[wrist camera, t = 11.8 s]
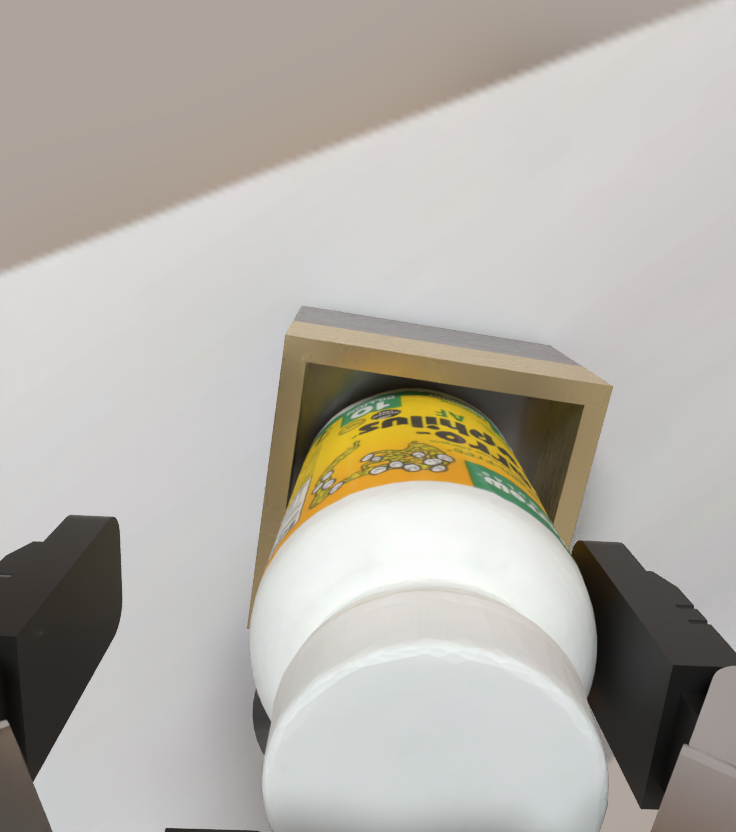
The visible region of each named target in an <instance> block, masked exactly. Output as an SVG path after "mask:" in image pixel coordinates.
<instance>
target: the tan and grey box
mask: <svg viewBox="0 0 736 832" xmlns="http://www.w3.org/2000/svg"><path fill="white" fill-rule="evenodd" d="M401 388H423V389H429V390H435V391H440V392H443V393H446V394H449V395H452V396H455V397H457V398H459V399H461V400H463V401H465V402H467V403H469V404H471V405H473V406H474V407H476V408H477V409H479V410H480V411H481V412H482V413H484V414H485V415H486V416H487V417H488V418H489V419H490V420H491V421H492V422H493V423H494V425H495V426H496V427H497V428H498V430H499V431H500V432H501V434H502V435H503V437H504V438H505V440H506V442H507V443H508V445H509V446H510V448H511V449H512V451H513V453H514V455H515V457H516V459H517V460H518V462H519V464H520V465H521V467H522V469H523V471H524V473H525V474H526V476H527V478H528V480H529V482H530V484H531V486H532V487H533V489H534V490H535V491H536V494H537V496H538V498H539V500H540V502H541V504H542V506H543V507H544V509H545V511H546V513H547V515H548V517H549V519H550V520H551V522H552V524H553V525H554V527H555V529H556V530H557V532H558V534H559V536H560V537H561V539H562V541H563V542H564V544H565V545H566V547H567V549H568V551H569V548H570V544H571V540H572V536H573V533H574V529H575V525H576V522H577V518H578V514H579V511H580V507H581V503H582V499H583V496H584V492H585V488H586V485H587V481H588V477H589V474H590V470H591V466H592V463H593V459H594V455H595V451H596V448H597V444H598V440H599V437H600V433H601V429H602V426H603V422H604V418H605V415H606V411H607V407H608V403H609V400H610V396H611V392H612V389H613V386H612V385H610V384H609V383H607V382H606V381H604V380H603V379H601V378H599V377H598V376H596V375H595V374H593V373H592V372H590V371H589V370H587V369H585V368H584V367H582V366H581V365H579V364H578V363H576V362H575V361H573V360H572V359H570V358H568V357H567V356H565V355H564V354H562V353H561V352H559V351H558V350H556V349H554V348H553V347H551V346H550V345H543V344H537V343H531V342H525V341H519V340H512V339H506V338H500V337H494V336H487V335H481V334H475V333H469V332H462V331H456V330H450V329H444V328H437V327H431V326H425V325H419V324H413V323H406V322H400V321H394V320H388V319H381V318H375V317H369V316H363V315H356V314H350V313H344V312H338V311H331V310H325V309H319V308H313V307H307V306H301V308H300V310H299V312H298V313H297V315H296V317H295V319H294V321H293V322H292V324H291V326H290V328H289V329H288V331H287V333H286V335H285V342H284V350H283V357H282V365H281V373H280V380H279V388H278V396H277V403H276V411H275V419H274V426H273V434H272V442H271V449H270V457H269V465H268V472H267V480H266V488H265V495H264V503H263V511H262V518H261V526H260V534H259V541H258V549H257V557H256V564H255V572H254V579H253V587H252V595H251V602H250V610H249V618H248V625H247V629H250V621H251V615H252V611H253V606H254V602H255V597H256V594H257V591H258V588H259V585H260V582H261V578H262V575H263V572H264V569H265V567H266V564H267V562H268V559H269V557H270V554H271V551H272V549H273V546H274V543H275V541H276V538H277V535H278V532H279V529H280V527H281V524H282V521H283V518H284V515H285V512H286V509H287V507H288V504H289V501H290V499H291V496H292V493H293V490H294V487H295V485H296V482H297V479H298V477H299V474H300V471H301V468H302V465H303V462H304V460H305V457H306V455H307V453H308V450H309V448H310V446H311V444H312V443H313V441H314V439H315V438H316V436H317V435H318V433H319V432H320V430H321V429H322V428H323V427H324V426H325V425H326V424H327V423H328V422H329V421H330V420H331V419H332V418H333V417H334V416H335V415H336V414H338V413H339V412H340V411H342V410H343V409H344V408H346V407H348V406H350V405H352V404H353V403H355V402H358V401H360V400H362V399H365V398H368V397H370V396H373V395H376V394H379V393H383V392H386V391H390V390H395V389H401ZM253 724H254V730H255V734H256V738H257V741H258V743H259V746H260V748H261V750H262V752H263V754H264V755H265V751H266V746H267V741H268V736H269V731H270V726H271V720H270V718H269V717H268V715H267V713H266V711H265V709H264V707H263V705H262V703H261V700H260V697H259V695H258V692H257V689H256V692H255V697H254V701H253Z"/></svg>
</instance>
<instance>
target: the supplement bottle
mask: <svg viewBox="0 0 736 832" xmlns="http://www.w3.org/2000/svg"><path fill="white" fill-rule="evenodd" d="M249 650H250V663H251V669H252V674H253V678H254V683H255V686H256V689H257V692H258V695H259V697H260V700H261V703H262V705H263V707H264V709H265V711H266V713H267V715H268V717H269V718H270V720H271V726H270V731H269V736H268V741H267V746H266V751H265V756H264V762H263V770H262V793H263V801H264V807H265V810H266V814H267V817H268V820H269V824H270V828H271V830H272V832H599V831H600V829H601V825H602V823H603V820H604V817H605V813H606V809H607V805H608V785H609V784H608V769H607V762H606V756H605V752H604V749H603V745H602V742H601V738H600V735H599V732H598V729H597V727H596V724H595V721H594V719H593V716H592V713H591V710H590V707H589V704H588V701H587V698H588V695H589V692H590V689H591V686H592V682H593V678H594V673H595V666H596V658H597V632H596V624H595V618H594V612H593V607H592V604H591V601H590V598H589V594H588V591H587V588H586V586H585V584H584V581H583V577H582V575H581V572H580V570H579V568H578V565H577V564H576V562H575V560H574V559H573V557H572V556H571V554H570V552H569V551H568V549H567V547H566V545H565V544H564V542H563V541H562V539H561V537H560V536H559V534H558V532H557V530H556V529H555V527H554V525H553V524H552V522H551V520H550V519H549V517H548V515H547V513H546V511H545V509H544V507H543V506H542V504H541V502H540V500H539V498H538V496H537V494H536V491H535V490H534V489H533V487H532V486H531V484H530V482H529V480H528V478H527V476H526V474H525V473H524V471H523V469H522V467H521V465H520V464H519V462H518V460H517V459H516V457H515V455H514V453H513V451H512V449H511V448H510V446H509V445H508V443H507V442H506V440H505V438H504V437H503V435H502V434H501V432H500V431H499V430H498V428H497V427H496V426H495V425H494V423H493V422H492V421H491V420H490V419H489V418H488V417H487V416H486V415H485V414H484V413H482V412H481V411H480V410H479V409H477V408H476V407H474V406H473V405H471V404H469V403H467V402H465V401H463V400H461V399H459V398H457V397H455V396H452V395H449V394H446V393H443V392H440V391H435V390H429V389H423V388H401V389H395V390H390V391H386V392H383V393H379V394H376V395H373V396H370V397H368V398H365V399H362V400H360V401H358V402H355V403H353V404H352V405H350V406H348V407H346V408H344V409H343V410H342V411H340V412H339V413H338V414H336V415H335V416H334V417H333V418H332V419H331V420H330V421H329V422H328V423H327V424H326V425H325V426H324V427H323V428H322V429H321V430H320V432H319V433H318V435H317V436H316V438H315V439H314V441H313V443H312V444H311V446H310V448H309V450H308V453H307V455H306V457H305V460H304V462H303V465H302V468H301V471H300V474H299V477H298V479H297V482H296V485H295V487H294V490H293V493H292V496H291V499H290V501H289V504H288V507H287V509H286V512H285V515H284V518H283V521H282V524H281V527H280V529H279V532H278V535H277V538H276V541H275V543H274V546H273V549H272V551H271V554H270V557H269V559H268V562H267V564H266V567H265V569H264V572H263V575H262V578H261V582H260V585H259V588H258V591H257V594H256V597H255V602H254V606H253V611H252V615H251V621H250V633H249Z"/></svg>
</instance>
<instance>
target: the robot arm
mask: <svg viewBox="0 0 736 832" xmlns="http://www.w3.org/2000/svg"><path fill="white" fill-rule="evenodd" d="M571 556H572V557H573V559H574V560H575V562H576V564H577V565H578V568H579V570H580V572H581V575H582V577H583V581H584V584H585V586H586V588H587V591H588V594H589V598H590V601H591V604H592V607H593V612H594V618H595V624H596V632H597V658H596V666H595V673H594V678H593V682H592V686H591V689H590V692H589V695H588V698H587V701H588V703H589V705H590V707H591V709H592V711H593V713H594V715H595V717H596V720H597V722H598V724H599V726H600V728H601V730H602V732H603V734H604V736H605V738H606V740H607V742H608V744H609V746H610V748H611V750H612V752H613V754H614V756H615V758H616V760H617V762H618V764H619V766H620V768H621V770H622V772H623V774H624V776H625V778H626V780H627V782H628V784H629V786H630V788H631V790H632V792H633V794H634V796H635V798H636V800H637V802H638V804H639V806H640V808H641V809H657V810H659V811H658V813H657V816H656V819H655V822H654V824H653V827H652V829H651V832H736V652H735V651H734V650H733V649H732V648H731V647H730V645H729V644H728V643H727V642H726V641H725V640H724V639H723V638H722V636H721V635H720V634H719V633H718V632H717V631H716V630H715V629H714V628H713V626H712V625H709V624H707V620H706V619H705V617H704V616H703V615H702V614H701V613H700V612H699V611H698V610H697V609H694V605H693V604H692V603H691V602H690V601H689V599H688V598H687V597H686V596H685V595H684V594H683V593H682V592H681V591H680V589H679V588H678V587H676V586H675V585H673V584H671V583H670V582H668V581H667V580H665V579H664V578H662V577H660V576H659V575H657V574H656V573H654V572H652V571H646V570H645V569H644V568H643V567H642V565H641V564H640V563H639V562H638V561H637V559H636V558H635V557H634V556H633V555H632V554H631V552H630V551H629V550H628V549H627V548H626V546H625V545H624V544H622V543H619V542H599V541H577V542H576V544H575V545H574V547H573V550H572V554H571ZM121 610H122V578H121V552H120V530H119V524H118V521H117V519H116V518H115V517H103V516H83V515H69V516H68V517H66V518H65V519H64V520H63V522H62V523H61V524H60V525H59V526H58V527H57V528H56V529H55V530H54V531H53V532H52V533H51V534H50V535H49V536H48V537H47V539H46V540H45V541H44V542H32V543H30V544H28V545H26V546H24V547H22V548H20V549H18V550H16V551H14V552H12V553H10V554H8V555H6V556H5V557H4V558H3V559H2V560H1V561H0V832H53V831H52V829H51V826H50V824H49V821H48V819H47V816H46V814H45V811H44V809H43V806H42V804H41V801H40V799H39V796H38V794H37V791H36V789H35V786H34V784H33V781H34V779H35V778H36V776H37V774H38V772H39V770H40V769H41V767H42V765H43V763H44V762H45V760H46V758H47V756H48V754H49V753H50V751H51V749H52V747H53V745H54V744H55V742H56V740H57V738H58V736H59V735H60V733H61V731H62V729H63V728H64V726H65V724H66V722H67V720H68V719H69V717H70V715H71V713H72V711H73V710H74V708H75V706H76V704H77V702H78V701H79V699H80V697H81V695H82V694H83V692H84V690H85V688H86V686H87V685H88V683H89V681H90V679H91V677H92V676H93V674H94V672H95V670H96V668H97V667H98V665H99V663H100V661H101V660H102V658H103V656H104V654H105V652H106V651H107V649H108V647H109V645H110V643H111V642H112V640H113V638H114V636H115V634H116V632H117V629H118V625H119V622H120V617H121ZM165 832H259V831H250V830H214V829H179V828H166V829H165Z"/></svg>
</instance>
